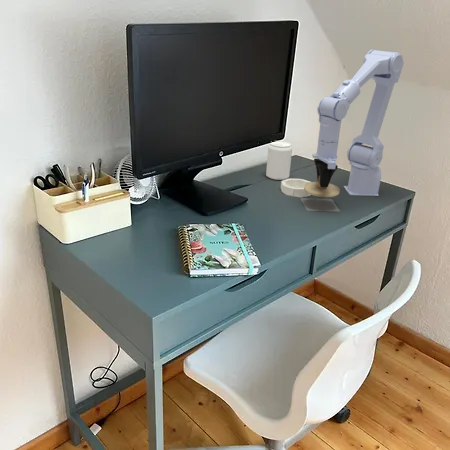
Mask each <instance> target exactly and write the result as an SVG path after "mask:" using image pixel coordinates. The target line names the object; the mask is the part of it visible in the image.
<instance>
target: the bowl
mask: <svg viewBox="0 0 450 450" xmlns="http://www.w3.org/2000/svg"><path fill="white" fill-rule="evenodd" d="M310 182H311V181H310V180H306V179H303V178H290V177H288V178H287V179H284V180H280V190H281V193H282V194H283V195H286V196H289V197H293V198H294V197H296V198H307V197H308V198H309V197H310V196H312V195H311V194H309V193H307V192H306V191H305V190H304V186H305V184H307V183H310Z"/></svg>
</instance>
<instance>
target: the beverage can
mask: <svg viewBox="0 0 450 450" xmlns="http://www.w3.org/2000/svg"><path fill="white" fill-rule="evenodd" d="M275 141H276V142H272V141H271V142H272V143H269V145H268V147H267V160H266V173H265V175H266V177H267V178H269V179H271V180H275V181H283V180H286V179H289V178H290V172H291V163H292V154H293V147H292V143H291V142H289V141H284V140H275Z"/></svg>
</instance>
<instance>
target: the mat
mask: <svg viewBox="0 0 450 450" xmlns="http://www.w3.org/2000/svg"><path fill="white" fill-rule="evenodd" d="M299 198H300V201H301V202H302V204H303V206H304V209H305V211H306V212H341V210H340V209H339V208H338V206H337V205H336V203H335V202H334V199H332V198H309V197H308V198H307V197H299Z"/></svg>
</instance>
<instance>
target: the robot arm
mask: <svg viewBox="0 0 450 450" xmlns="http://www.w3.org/2000/svg"><path fill="white" fill-rule="evenodd" d="M403 59H404V58H403V55H402V53H401V52H400V51H399V52H398V51H395V52H394V51H386V50H385V51H384V50H378V49H374V48H372V49H370V50H369V51H367V53H366V54H365V55H364V58H363V64H362V65H361V67H360V68H359V69H358V70H357V72H356V73H355V74H354V76H353V77H352V78H351V79H345V80H344V81H343V82H341V84H340V85H339V86H338V87H337V89H335V90H334V91H333V92H332V93H331V94H330V96H326V97H323V98H322V99H321V100H320V101H319V103H318V107H317V109H316V110H317V114H318V123H320V124H319V132H318V137H317V138H318V140H317V146H316V147H317V148H316V153H312V155H311V156H312V158H313V162H314V165H315V169H316V178H317V181H316V182H318V178H319V175H320V187H328V185H329V184H331V180H332V177H333V175H334V174H335V172H336V171H337V170H338V165H337V158H338V148H339V140H340V133H341V132H340V131H341V125H342V120H343V119H344V118H345V117H346V115H347V113H348V111H349V109H350V106H351V104H352V103H353V102H354V101H355V100H356V99H357V98H358V97H359V95H360V94H361V88H362V87H363V86H364V85H365V84H367V82H368V81H370V80H371V79H372V80H374V82H375V88H374V91H373V94H372V99H371V101H370V103H369V104H370V105H369V108H368V111H367V114H366V119H365V120H364V124H363V129H362V131H361V134H360V135H357V136H355V137H353V139H352V142H351V144H350V146H349V147H348V149H347V152H346V153H347V154H346V157H347V161H349V165H350V172H349V178H348V184H347V185H343V188H344V189H345V191H346V192H347V193H348V195H350V196H371V197H373V196H375V197H379V189H380V186H381V179H382V170H381V167H380V166H379V165H381V162H382V159H383V154H384V153H383V151H384V148H385V147H384V144H383V143H382V142H381V140H380V139H379V135H380V132H381V128H382V125H383V122H384V119H385V115H386V112H387V110H388V107H389V103H390V99H391V97H392V93H393V89H394V86H395V84H396V83H398V82H399V79H400V77H401V73H402V71H403V66H404V60H403Z"/></svg>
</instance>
